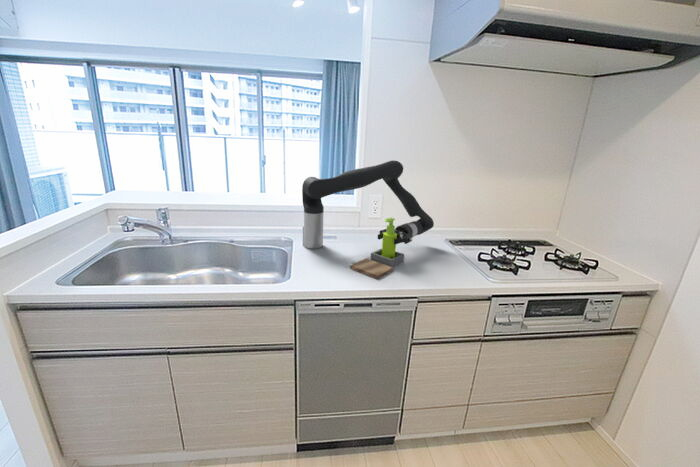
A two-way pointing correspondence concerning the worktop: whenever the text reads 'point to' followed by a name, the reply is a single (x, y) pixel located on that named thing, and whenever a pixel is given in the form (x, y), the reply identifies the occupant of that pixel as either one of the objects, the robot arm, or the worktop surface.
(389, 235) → the soap dispenser
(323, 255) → the worktop surface
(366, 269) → the board
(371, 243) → the worktop surface
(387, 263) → the tray
